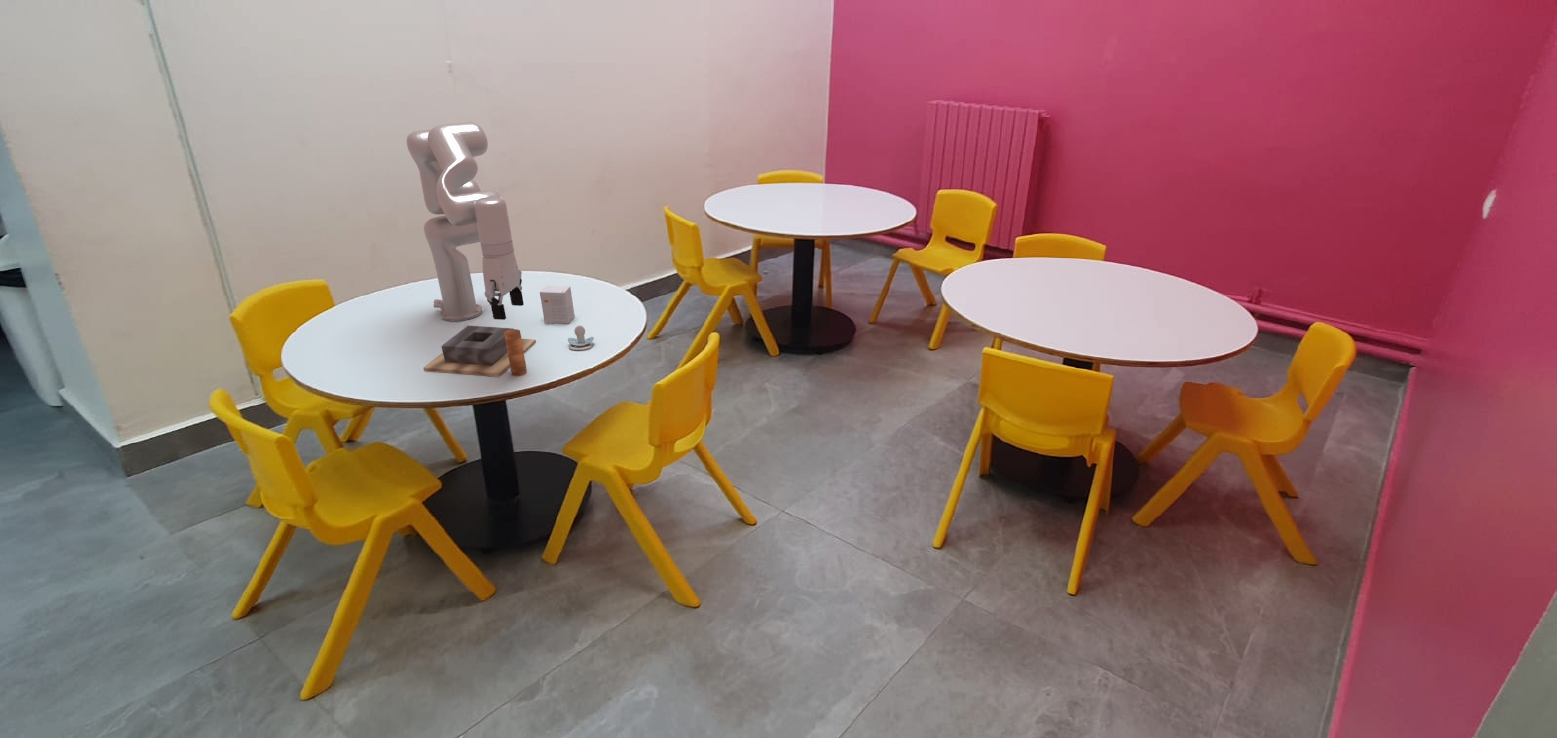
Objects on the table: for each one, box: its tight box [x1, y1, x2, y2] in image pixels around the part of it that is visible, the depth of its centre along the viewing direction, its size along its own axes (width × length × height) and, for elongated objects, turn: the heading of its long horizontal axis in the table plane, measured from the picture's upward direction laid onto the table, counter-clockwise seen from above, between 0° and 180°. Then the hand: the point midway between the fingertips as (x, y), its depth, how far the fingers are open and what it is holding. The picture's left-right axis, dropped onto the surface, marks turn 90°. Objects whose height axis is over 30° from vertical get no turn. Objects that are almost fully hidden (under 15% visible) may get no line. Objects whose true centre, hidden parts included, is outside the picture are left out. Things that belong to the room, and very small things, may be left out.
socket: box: [423, 325, 537, 378], centre depth 208 cm, size 22×22×6 cm
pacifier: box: [567, 325, 595, 351], centre depth 214 cm, size 7×6×6 cm
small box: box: [539, 285, 576, 325], centre depth 230 cm, size 8×6×10 cm
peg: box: [504, 328, 528, 377], centre depth 198 cm, size 4×4×12 cm
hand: (509, 312), depth 192 cm, fingers open, 9 cm apart
